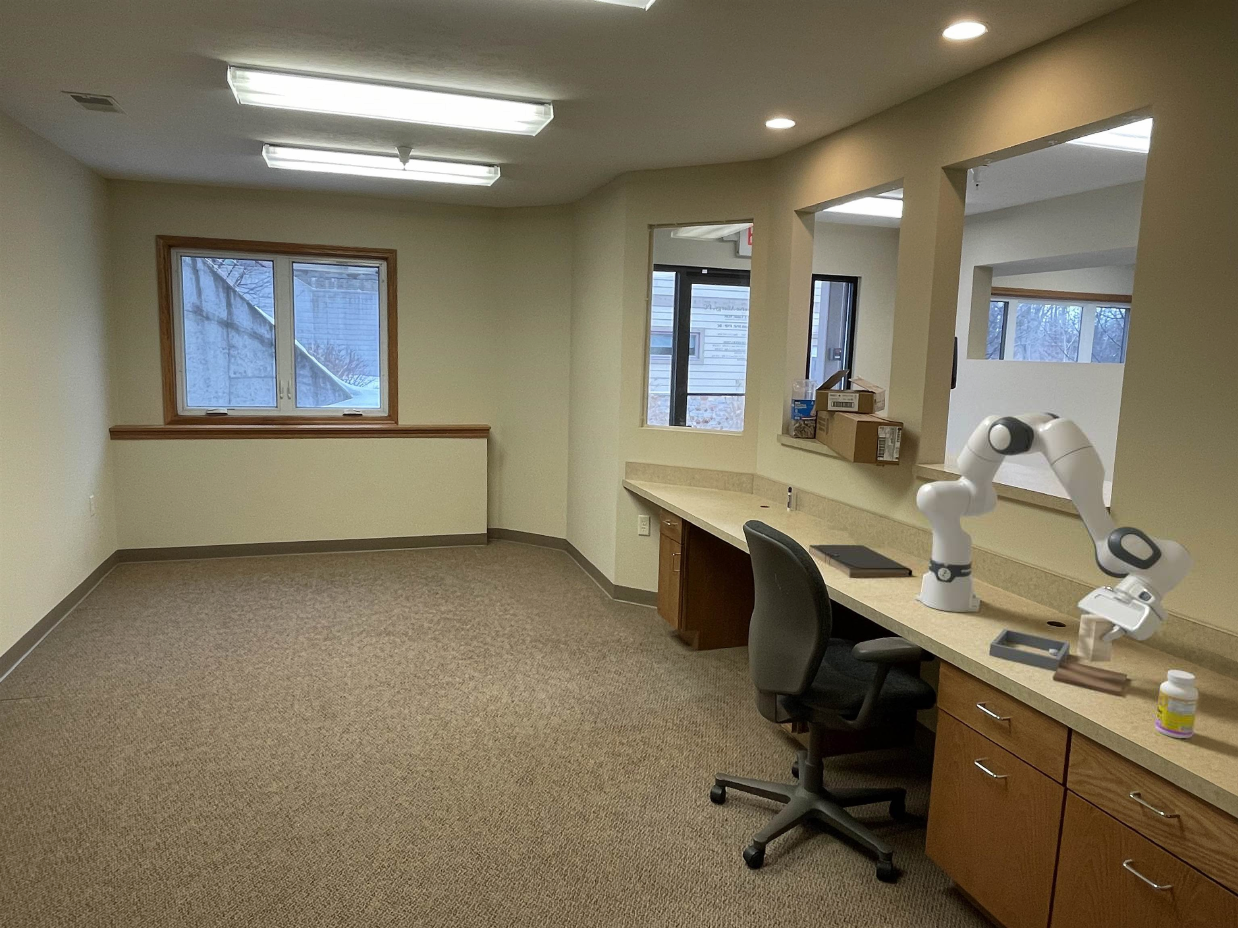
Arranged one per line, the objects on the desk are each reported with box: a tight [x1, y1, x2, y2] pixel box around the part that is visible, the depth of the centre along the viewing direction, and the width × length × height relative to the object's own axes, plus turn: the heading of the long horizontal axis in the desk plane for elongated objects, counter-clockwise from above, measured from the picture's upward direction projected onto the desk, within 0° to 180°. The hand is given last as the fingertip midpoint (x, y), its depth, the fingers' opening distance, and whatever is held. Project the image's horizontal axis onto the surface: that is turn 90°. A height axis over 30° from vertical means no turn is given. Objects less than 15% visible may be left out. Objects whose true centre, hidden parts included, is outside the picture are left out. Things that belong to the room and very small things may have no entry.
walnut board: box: [1052, 659, 1128, 697], centre depth 199 cm, size 14×14×1 cm
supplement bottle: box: [1154, 669, 1199, 739], centre depth 171 cm, size 7×7×13 cm
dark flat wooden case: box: [808, 544, 913, 578], centre depth 301 cm, size 33×4×24 cm
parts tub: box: [989, 628, 1071, 672], centre depth 214 cm, size 16×16×3 cm
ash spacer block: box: [1076, 614, 1115, 663], centre depth 198 cm, size 5×5×10 cm
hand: (1093, 636), depth 198 cm, fingers closed on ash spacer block, 5 cm apart
